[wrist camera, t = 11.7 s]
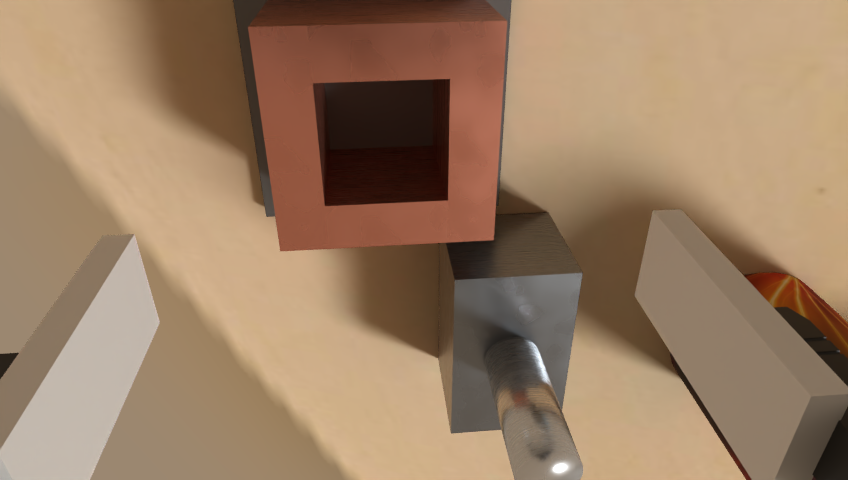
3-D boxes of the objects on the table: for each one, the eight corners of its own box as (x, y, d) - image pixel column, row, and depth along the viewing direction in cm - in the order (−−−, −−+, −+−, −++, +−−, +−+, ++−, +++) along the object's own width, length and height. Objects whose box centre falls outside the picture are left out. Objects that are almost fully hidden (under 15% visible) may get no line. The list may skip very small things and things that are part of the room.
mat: (230, -43, 26) (227, -41, 25) (510, -47, 27) (514, -45, 26) (268, 209, 32) (266, 216, 31) (495, 198, 33) (498, 205, 32)
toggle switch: (439, 217, 33) (481, 389, 22) (548, 212, 34) (642, 377, 23) (438, 358, 38) (471, 556, 27) (532, 352, 39) (603, 543, 28)
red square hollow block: (269, -3, 26) (248, 27, 21) (478, -7, 27) (507, 20, 22) (293, 188, 31) (280, 251, 26) (471, 180, 31) (493, 240, 26)
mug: (872, 354, 42) (1040, 509, 32) (672, 403, 43) (773, 571, 32) (893, 237, 37) (1100, 376, 27) (667, 295, 38) (783, 452, 27)
